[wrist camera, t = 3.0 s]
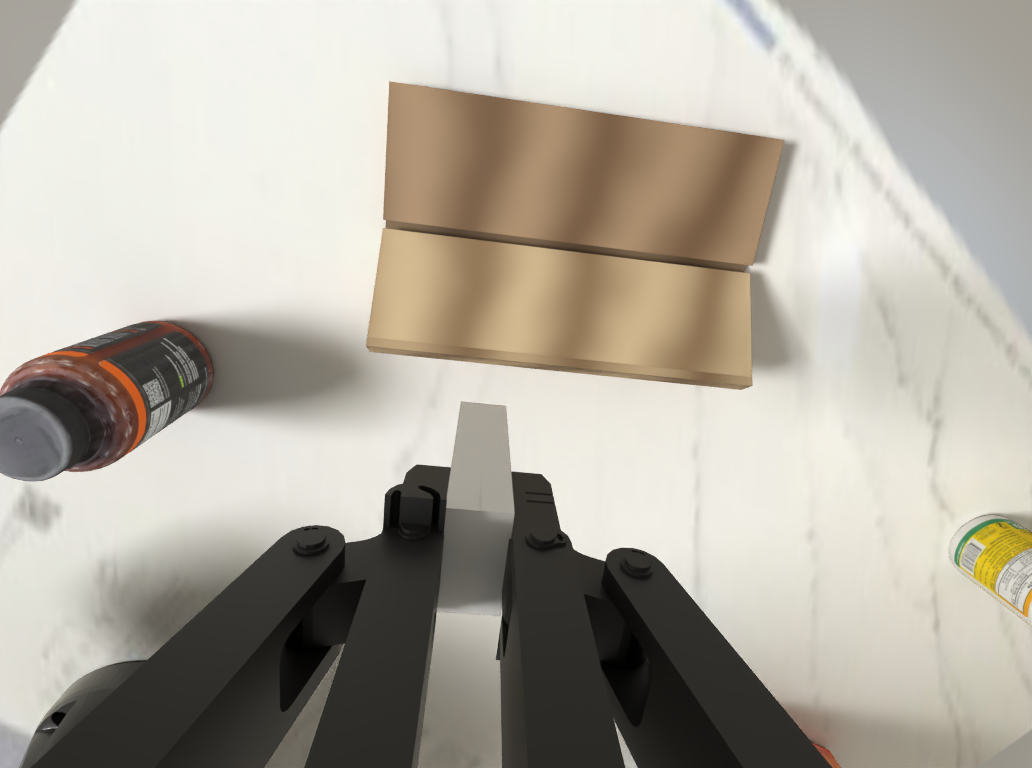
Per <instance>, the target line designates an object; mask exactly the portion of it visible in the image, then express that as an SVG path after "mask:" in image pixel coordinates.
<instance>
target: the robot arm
mask: <svg viewBox="0 0 1032 768" xmlns="http://www.w3.org/2000/svg"><path fill="white" fill-rule="evenodd" d="M554 503H555V502H554V497H553V493H552V488H551V484H550V483H549V482H548V481H547V480H546V479H545V478H544V476H543V475H542V474H533V473H522V472H511V463H510V450H509V438H508V425H507V413H506V406H501V405H491V404H480V403H470V402H461V405H460V412H459V418H458V425H457V432H456V438H455V445H454V452H453V458H452V465H451V468H450V467H439V466H428V465H416V466H414V467H413V468H412V469H411V470H409V471H408V472H407V473H406V476H405V479H404V482H403V484H399V485H396V486H395V487H393V488H391V489H389V490H388V492H387V493H386V494H385V504H384V523H383V530H382V533H381V534H379V535H378V536H376V537H373V538H370V539H367V540H362V541H357V542H349V543H345V539H344V536H343V535H342V534H341V533H340V532H339V531H338V530H336V529H333V528H331V527H328V526H318V525H314V526H306V527H301V528H298V529H295V530H292V531H290V532H289V533H287V534H286V535H284V536H283V537H281V538H280V539H279V540H278V541H277V542H276V543H275V544H274V545H273V546H271V547H270V548H269V549H268V550H267V551H266V552H265V553H264V554H263V555H262V556H261V557H259V558H258V559H257V560H256V561H255V562H254V563H253V564H252V565H251V566H250V567H249V568H247V569H246V570H245V571H244V572H243V573H242V574H241V575H240V576H239V577H238V578H237V579H235V580H234V581H233V582H232V583H231V584H230V585H229V586H228V587H227V588H226V589H225V590H223V591H222V592H221V593H220V594H219V595H218V596H217V597H216V598H215V599H214V600H213V601H211V602H210V603H209V604H208V605H207V606H206V607H205V608H204V609H203V610H202V611H201V612H199V613H198V614H197V615H196V616H195V617H194V618H193V619H192V620H191V621H190V622H189V623H187V624H186V625H185V626H184V627H183V628H182V629H181V630H180V631H179V632H178V633H177V634H175V635H174V636H173V637H172V638H171V639H170V640H169V641H168V642H167V643H166V644H165V645H163V646H162V647H161V648H160V649H159V650H158V651H157V652H156V653H155V654H154V655H153V656H151V657H150V658H149V659H148V660H147V661H146V662H130V663H121V664H116V665H111V666H107V667H104V668H101V669H98V670H95V671H93V672H91V673H89V674H87V675H85V676H83V677H82V678H80V679H79V680H77V681H76V682H75V683H74V684H72V685H71V686H70V687H69V688H68V689H67V691H66V692H65V693H64V694H63V695H62V696H61V697H60V699H59V700H58V701H57V702H56V703H55V704H54V705H53V707H52V708H51V709H50V710H49V711H48V712H47V713H46V715H45V716H44V718H43V719H42V721H41V722H40V724H39V725H38V727H37V729H36V731H35V733H34V736H33V738H32V740H31V742H30V744H29V747H28V749H27V751H26V753H25V755H24V757H23V760H22V762H21V764H20V766H19V768H264V767H265V765H266V764H267V762H268V761H269V759H270V758H271V756H272V755H273V753H274V752H275V750H276V749H277V747H278V746H279V744H280V742H281V741H282V739H283V738H284V736H285V735H286V733H287V732H288V730H289V729H290V727H291V726H292V724H293V723H294V721H295V720H296V718H297V717H298V715H299V714H300V712H301V711H302V709H303V708H304V706H305V705H306V703H307V702H308V700H309V699H310V697H311V696H312V694H313V692H314V691H315V689H316V688H317V686H318V685H319V683H320V682H321V680H322V679H323V677H324V676H325V674H326V673H327V671H328V670H329V668H330V667H331V665H332V664H333V662H334V661H335V659H336V658H337V656H338V655H339V653H340V650H341V647H342V645H343V644H344V643H345V646H344V649H343V652H342V655H341V658H340V661H339V664H338V667H337V670H336V673H335V676H334V680H333V683H332V686H331V689H330V692H329V695H328V698H327V701H326V704H325V707H324V710H323V713H322V716H321V719H320V722H319V725H318V728H317V731H316V734H315V737H314V740H313V743H312V746H311V749H310V753H309V756H308V759H307V762H306V765H305V768H417V766H418V758H419V750H420V742H421V734H422V726H423V718H424V711H425V703H426V695H427V687H428V679H429V671H430V663H431V656H432V648H433V640H434V632H435V622H436V612H449V613H464V614H479V615H494V616H500V615H501V608H502V620H501V627H500V634H499V641H498V649H497V656H496V660H500V673H501V725H502V768H625V765H624V761H623V757H622V753H621V749H620V744H619V740H618V736H617V732H616V728H615V723H614V720H615V722H616V724H617V726H618V728H619V730H620V732H621V734H622V736H623V739H624V741H625V743H626V745H627V747H628V749H629V751H630V753H631V755H632V757H633V759H634V761H635V763H636V765H637V767H638V768H832V766H831V765H830V764H829V763H828V762H827V760H826V759H825V758H824V757H823V756H822V754H821V753H820V752H819V751H818V750H817V748H816V747H815V746H814V745H813V743H812V742H811V741H810V740H809V739H808V737H807V736H806V735H805V734H804V733H803V731H802V730H801V729H800V728H799V727H798V725H797V724H796V723H795V722H794V721H793V719H792V718H791V717H790V716H789V715H788V713H787V712H786V711H785V710H784V709H783V707H782V706H781V705H780V704H779V703H778V701H777V700H776V699H775V698H774V697H773V695H772V694H771V693H770V692H769V691H768V689H767V688H766V687H765V686H764V685H763V683H762V682H761V681H760V680H759V679H758V677H757V676H756V675H755V674H754V673H753V671H752V670H751V669H750V668H749V667H748V665H747V664H746V663H745V662H744V660H743V659H742V658H741V657H740V656H739V654H738V653H737V652H736V651H735V650H734V648H733V647H732V646H731V645H730V644H729V642H728V641H727V640H726V639H725V638H724V636H723V635H722V634H721V633H720V632H719V630H718V629H717V628H716V627H715V626H714V624H713V623H712V622H711V621H710V620H709V618H708V617H707V616H706V615H705V614H704V612H703V611H702V610H701V609H700V608H699V606H698V605H697V604H696V603H695V602H694V600H693V599H692V598H691V597H690V596H689V594H688V593H687V592H686V591H685V590H684V588H683V587H682V586H681V585H680V584H679V582H678V581H677V580H676V579H675V578H674V576H673V575H672V574H671V573H670V571H669V570H668V569H667V568H666V567H665V565H664V564H663V563H662V562H660V561H659V560H658V559H657V558H656V557H654V556H652V555H651V554H649V553H647V552H645V551H642V550H638V549H634V548H619V549H615V550H612V551H611V552H610V553H609V554H607V558H606V562H605V561H602V560H598V559H595V558H591V557H588V556H586V555H583V554H581V553H579V552H577V551H575V550H574V549H573V547H572V543H571V541H570V539H569V537H568V536H567V535H566V534H565V533H564V532H562V531H561V529H560V525H559V520H558V516H557V511H556V506H555V504H554ZM613 718H614V719H613Z"/></svg>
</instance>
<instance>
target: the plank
mask: <svg viewBox="0 0 1032 768" xmlns="http://www.w3.org/2000/svg"><path fill="white" fill-rule="evenodd" d="M366 346H367V348H368V350H369V351H370V352H378V353H388V354H397V355H407V356H417V357H427V358H436V359H446V360H456V361H466V362H475V363H485V364H495V365H505V366H514V367H524V368H534V369H544V370H553V371H563V372H573V373H583V374H592V375H602V376H612V377H622V378H631V379H641V380H651V381H661V382H670V383H680V384H690V385H700V386H709V387H719V388H729V389H739V390H742V389H745V388H747V387H750V386H752V349H751V295H750V273H742V272H734V271H726V270H718V269H710V268H702V267H693V266H685V265H677V264H669V263H661V262H653V261H645V260H637V259H629V258H621V257H613V256H604V255H596V254H588V253H580V252H572V251H564V250H556V249H548V248H540V247H532V246H523V245H515V244H507V243H499V242H491V241H483V240H475V239H467V238H459V237H451V236H443V235H434V234H426V233H418V232H410V231H402V230H394V229H386V228H383V232H382V239H381V246H380V253H379V260H378V267H377V274H376V281H375V288H374V295H373V302H372V308H371V315H370V322H369V329H368V336H367V343H366Z"/></svg>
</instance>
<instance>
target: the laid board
mask: <svg viewBox="0 0 1032 768" xmlns="http://www.w3.org/2000/svg"><path fill="white" fill-rule="evenodd" d="M783 143H784V140H781V139H774V138H767V137H760V136H754V135H747V134H740V133H734V132H727V131H720V130H713V129H707V128H700V127H693V126H686V125H680V124H673V123H666V122H659V121H653V120H646V119H639V118H632V117H626V116H619V115H612V114H605V113H599V112H592V111H585V110H578V109H572V108H565V107H558V106H551V105H545V104H538V103H531V102H524V101H518V100H511V99H504V98H497V97H491V96H484V95H477V94H471V93H464V92H457V91H450V90H444V89H437V88H430V87H423V86H417V85H410V84H403V83H396V82H390V81H389V102H388V125H387V147H386V170H385V192H384V214H383V220H386V229H394V230H402V231H410V232H418V233H426V234H434V235H443V236H451V237H459V238H467V239H475V240H483V241H491V242H499V243H507V244H515V245H523V246H532V247H540V248H548V249H556V250H564V251H572V252H580V253H588V254H596V255H604V256H613V257H621V258H629V259H637V260H645V261H653V262H661V263H669V264H677V265H685V266H693V267H702V268H710V269H718V270H726V271H734V272H742V273H744V269H745V265H751V266H753V262H754V258H755V254H756V250H757V246H758V242H759V238H760V234H761V230H762V226H763V222H764V218H765V214H766V210H767V206H768V202H769V199H770V195H771V191H772V187H773V183H774V179H775V175H776V171H777V167H778V163H779V159H780V155H781V151H782V147H783Z"/></svg>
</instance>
